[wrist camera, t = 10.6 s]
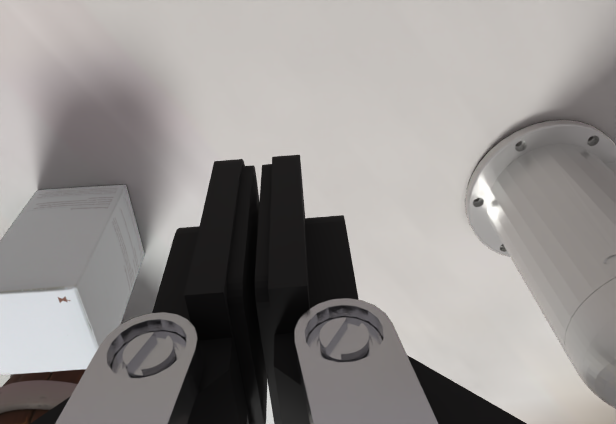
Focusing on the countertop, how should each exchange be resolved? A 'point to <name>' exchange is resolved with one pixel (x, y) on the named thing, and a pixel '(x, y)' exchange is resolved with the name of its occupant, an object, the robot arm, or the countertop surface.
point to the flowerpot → (35, 394)
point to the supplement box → (66, 277)
